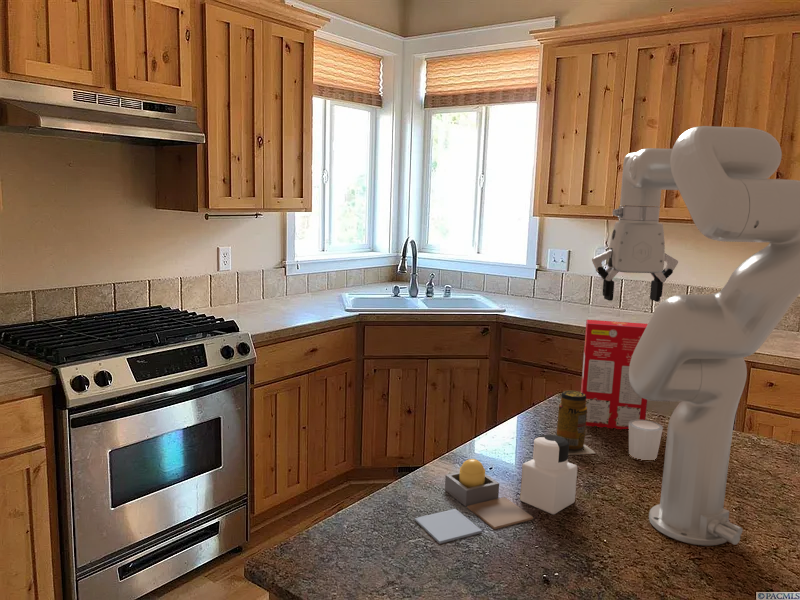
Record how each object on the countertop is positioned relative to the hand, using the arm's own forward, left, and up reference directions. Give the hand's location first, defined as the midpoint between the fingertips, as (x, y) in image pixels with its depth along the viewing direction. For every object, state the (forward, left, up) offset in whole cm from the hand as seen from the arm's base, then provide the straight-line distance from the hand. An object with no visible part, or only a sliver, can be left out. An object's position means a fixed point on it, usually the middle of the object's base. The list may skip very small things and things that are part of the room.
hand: (631, 300), depth 131 cm
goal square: (-10, +48, -34) cm, 60 cm away
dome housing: (-2, +38, -34) cm, 51 cm away
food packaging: (+15, -14, -34) cm, 40 cm away
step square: (-10, +38, -34) cm, 52 cm away
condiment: (+8, +5, -34) cm, 35 cm away
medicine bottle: (-10, +27, -34) cm, 45 cm away
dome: (-2, +38, -32) cm, 50 cm away
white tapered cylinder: (-2, -6, -34) cm, 35 cm away
